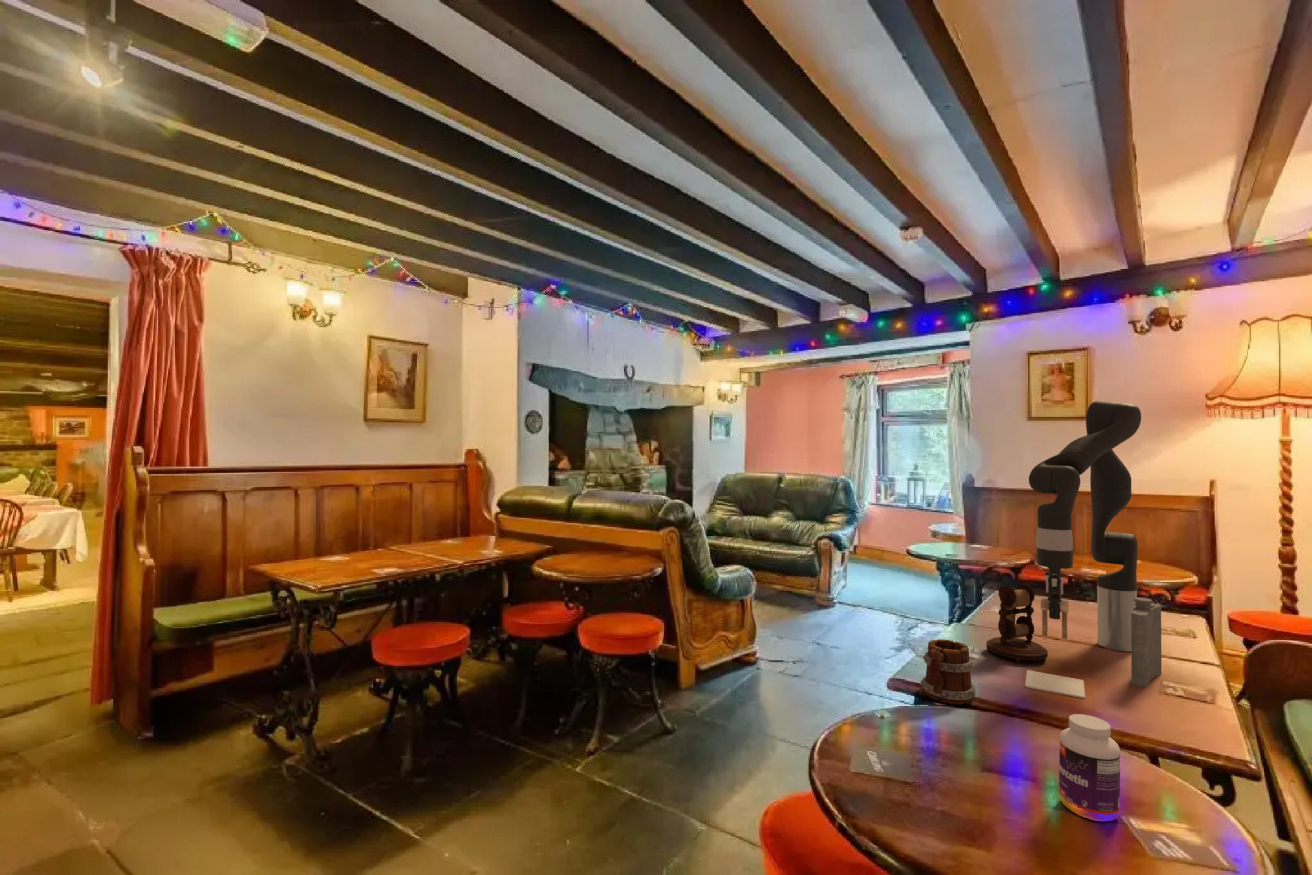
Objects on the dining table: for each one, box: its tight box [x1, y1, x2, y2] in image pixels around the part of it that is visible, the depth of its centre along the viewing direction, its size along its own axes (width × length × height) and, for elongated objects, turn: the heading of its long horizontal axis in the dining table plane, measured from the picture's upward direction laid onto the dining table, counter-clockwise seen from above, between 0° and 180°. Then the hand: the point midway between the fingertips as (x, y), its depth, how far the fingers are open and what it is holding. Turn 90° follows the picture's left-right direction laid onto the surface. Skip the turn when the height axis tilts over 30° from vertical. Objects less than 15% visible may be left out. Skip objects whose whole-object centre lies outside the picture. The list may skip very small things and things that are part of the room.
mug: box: [920, 638, 977, 705], centre depth 142 cm, size 12×14×15 cm
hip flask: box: [1130, 596, 1162, 688], centre depth 154 cm, size 16×4×20 cm, turn 129°
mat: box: [1024, 669, 1086, 700], centre depth 149 cm, size 12×12×1 cm
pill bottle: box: [1058, 713, 1121, 815], centre depth 98 cm, size 8×8×14 cm
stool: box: [1040, 597, 1069, 640], centre depth 149 cm, size 6×6×8 cm
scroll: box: [985, 582, 1049, 665], centre depth 169 cm, size 15×15×20 cm
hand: (1054, 615), depth 149 cm, fingers closed on stool, 5 cm apart
